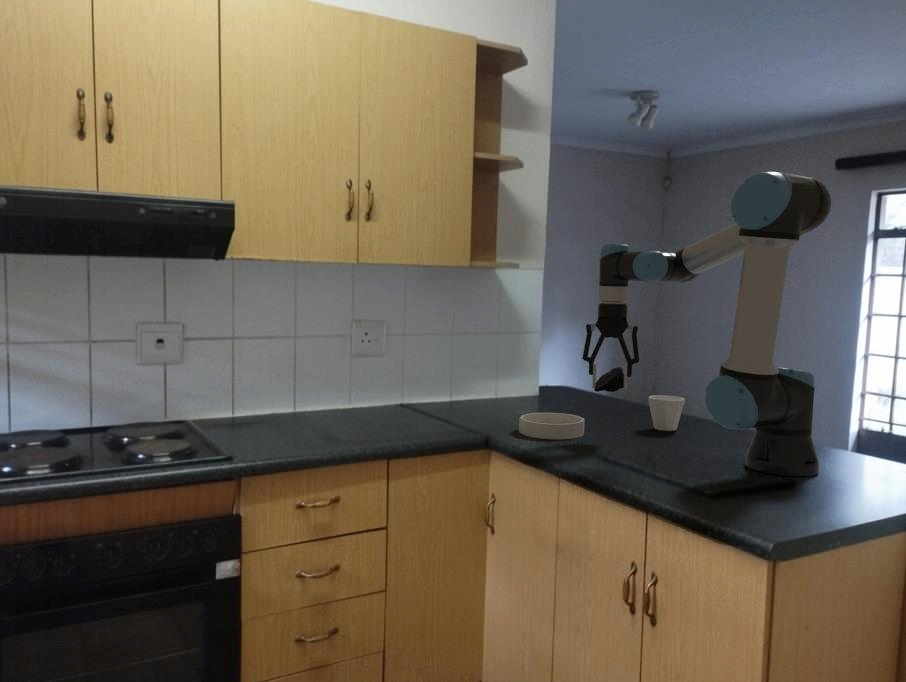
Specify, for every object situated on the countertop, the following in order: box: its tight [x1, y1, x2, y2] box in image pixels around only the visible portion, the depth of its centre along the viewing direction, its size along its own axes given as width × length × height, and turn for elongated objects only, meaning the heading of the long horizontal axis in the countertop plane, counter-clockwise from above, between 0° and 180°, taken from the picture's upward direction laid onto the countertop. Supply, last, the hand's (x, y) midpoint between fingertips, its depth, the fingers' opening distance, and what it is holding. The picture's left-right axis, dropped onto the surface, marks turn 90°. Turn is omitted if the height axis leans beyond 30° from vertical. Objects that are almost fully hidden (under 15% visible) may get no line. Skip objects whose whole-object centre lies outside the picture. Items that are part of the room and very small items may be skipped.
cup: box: [647, 394, 685, 433], centre depth 204 cm, size 10×10×9 cm
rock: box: [593, 366, 624, 393], centre depth 190 cm, size 7×10×6 cm
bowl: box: [518, 411, 585, 440], centre depth 199 cm, size 18×18×4 cm
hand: (609, 387), depth 191 cm, fingers closed on rock, 7 cm apart
